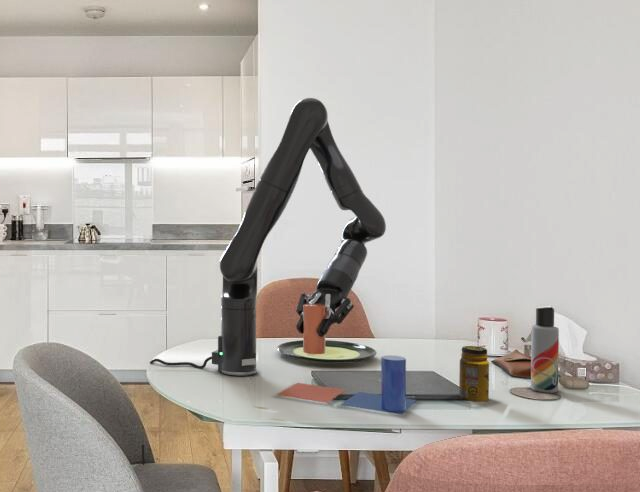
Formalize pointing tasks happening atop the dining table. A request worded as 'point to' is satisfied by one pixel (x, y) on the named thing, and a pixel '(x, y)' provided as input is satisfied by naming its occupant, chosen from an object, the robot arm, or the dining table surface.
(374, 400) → the blue mat
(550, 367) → the lotion bottle
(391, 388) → the blue canister
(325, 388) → the terracotta mat
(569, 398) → the dining table surface
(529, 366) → the sunglasses case
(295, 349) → the plate
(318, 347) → the terracotta canister
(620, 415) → the dining table surface
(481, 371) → the condiment
